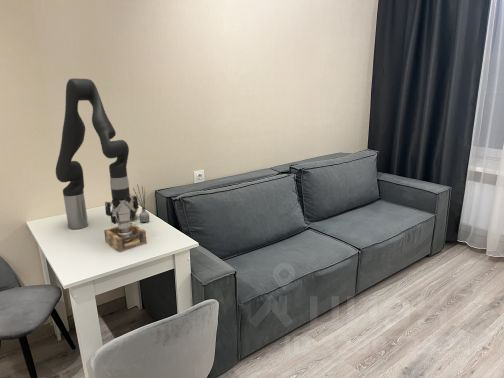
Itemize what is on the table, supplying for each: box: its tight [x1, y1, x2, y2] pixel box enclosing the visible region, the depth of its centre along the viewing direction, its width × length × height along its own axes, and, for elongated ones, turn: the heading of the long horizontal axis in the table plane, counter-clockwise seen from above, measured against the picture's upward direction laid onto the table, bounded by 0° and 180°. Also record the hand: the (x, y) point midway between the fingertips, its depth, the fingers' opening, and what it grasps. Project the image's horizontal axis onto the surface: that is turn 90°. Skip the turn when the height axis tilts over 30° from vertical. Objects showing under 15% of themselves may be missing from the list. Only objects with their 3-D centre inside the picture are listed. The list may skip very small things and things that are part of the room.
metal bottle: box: [115, 199, 133, 242], centre depth 168 cm, size 6×7×20 cm
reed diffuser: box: [132, 184, 150, 223], centre depth 193 cm, size 10×7×20 cm
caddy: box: [103, 222, 148, 253], centre depth 170 cm, size 14×13×6 cm
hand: (123, 221), depth 168 cm, fingers open, 8 cm apart
